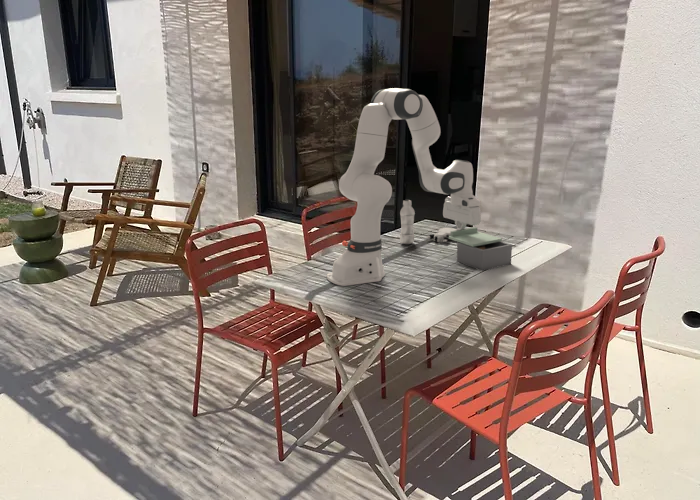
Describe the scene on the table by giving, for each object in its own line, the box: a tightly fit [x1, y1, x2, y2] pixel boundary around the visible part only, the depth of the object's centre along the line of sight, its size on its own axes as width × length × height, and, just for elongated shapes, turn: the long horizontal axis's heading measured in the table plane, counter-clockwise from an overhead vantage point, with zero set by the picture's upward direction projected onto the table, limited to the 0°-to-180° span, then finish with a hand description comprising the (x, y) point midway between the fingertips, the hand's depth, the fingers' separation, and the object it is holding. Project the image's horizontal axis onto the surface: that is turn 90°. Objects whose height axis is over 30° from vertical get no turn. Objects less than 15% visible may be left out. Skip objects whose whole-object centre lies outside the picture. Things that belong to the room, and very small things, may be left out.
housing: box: [456, 241, 513, 272], centre depth 224 cm, size 15×15×8 cm
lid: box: [448, 226, 503, 247], centre depth 227 cm, size 15×15×3 cm
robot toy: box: [426, 227, 457, 243], centre depth 259 cm, size 12×4×15 cm
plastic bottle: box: [399, 199, 416, 245], centre depth 252 cm, size 6×7×20 cm
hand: (460, 231), depth 234 cm, fingers closed
